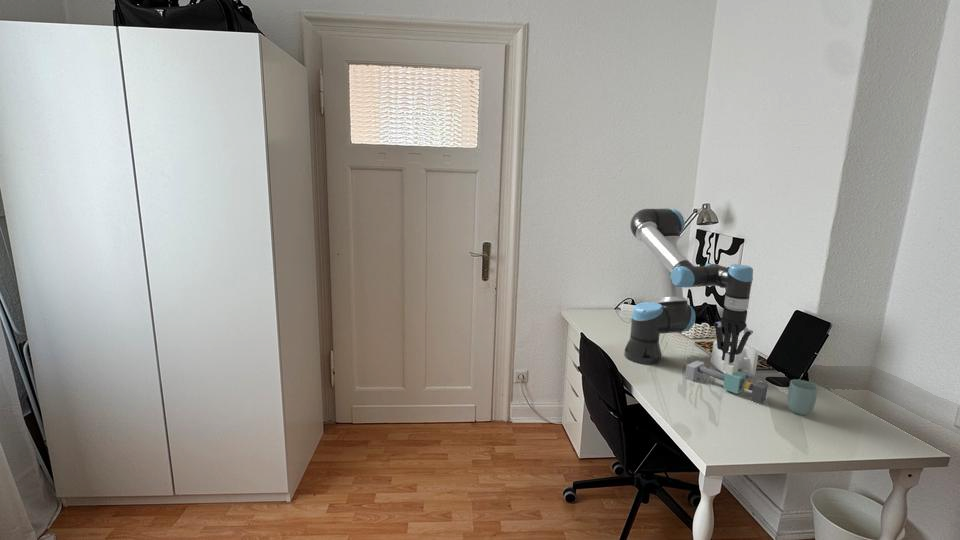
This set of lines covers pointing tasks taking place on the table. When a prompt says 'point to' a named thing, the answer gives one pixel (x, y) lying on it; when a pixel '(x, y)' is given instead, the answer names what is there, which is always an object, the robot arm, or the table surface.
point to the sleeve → (733, 378)
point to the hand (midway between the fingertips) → (726, 369)
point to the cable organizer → (737, 359)
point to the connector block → (759, 392)
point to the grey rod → (721, 376)
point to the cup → (802, 396)
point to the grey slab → (693, 370)
